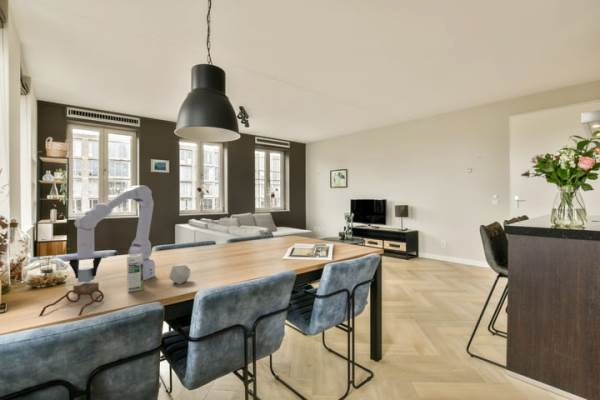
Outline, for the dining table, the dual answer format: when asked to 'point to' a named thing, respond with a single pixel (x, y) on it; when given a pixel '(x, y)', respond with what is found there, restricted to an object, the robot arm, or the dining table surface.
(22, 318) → the dining table surface
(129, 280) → the syrup box
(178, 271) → the die
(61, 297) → the glasses
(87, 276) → the slate cube
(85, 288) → the walnut slab
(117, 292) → the dining table surface
